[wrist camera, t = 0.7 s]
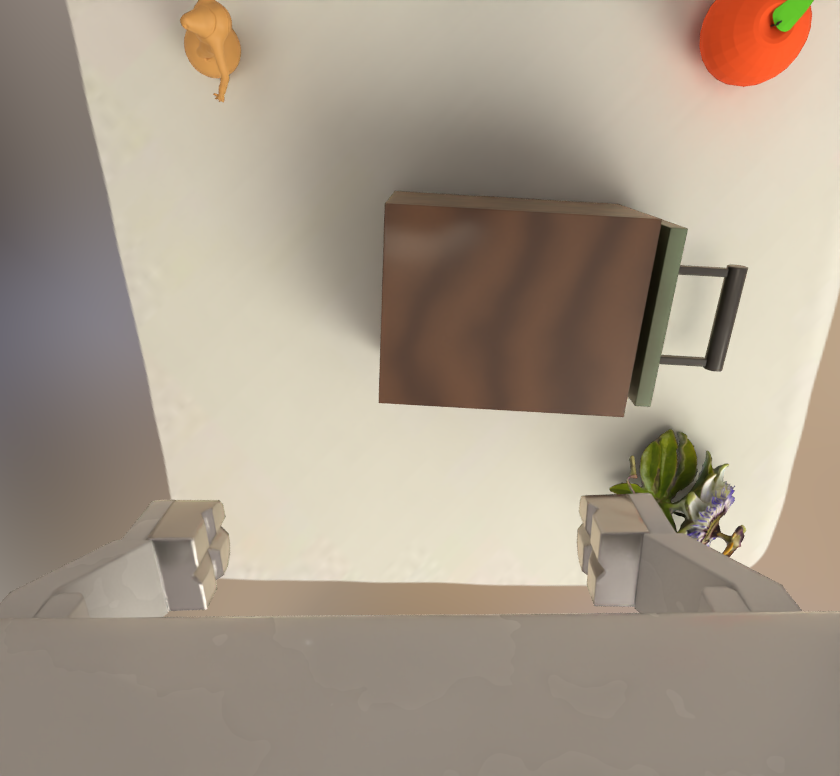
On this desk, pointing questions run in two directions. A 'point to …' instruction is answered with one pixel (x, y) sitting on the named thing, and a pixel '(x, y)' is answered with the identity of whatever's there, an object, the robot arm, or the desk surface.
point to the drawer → (660, 308)
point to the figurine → (211, 42)
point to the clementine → (753, 38)
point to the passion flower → (671, 476)
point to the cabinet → (512, 302)
